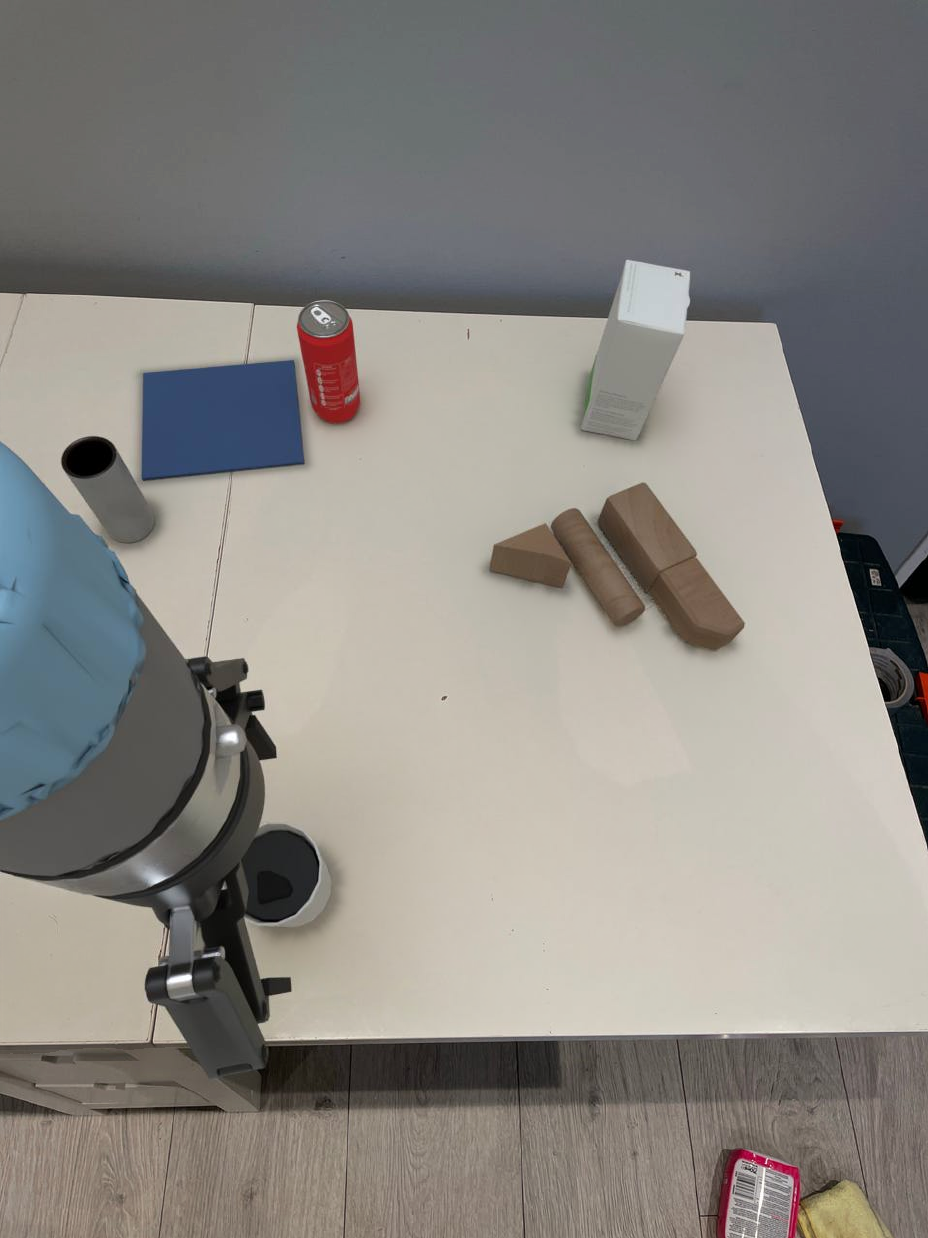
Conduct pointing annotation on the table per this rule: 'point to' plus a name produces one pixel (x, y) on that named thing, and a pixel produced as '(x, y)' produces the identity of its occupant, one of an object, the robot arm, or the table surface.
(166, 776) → the robot arm
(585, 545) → the wooden block set
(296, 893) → the white cup
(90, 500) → the gray tube
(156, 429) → the cloth mat
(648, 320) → the cosmetic box
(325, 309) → the beverage can
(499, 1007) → the table surface
